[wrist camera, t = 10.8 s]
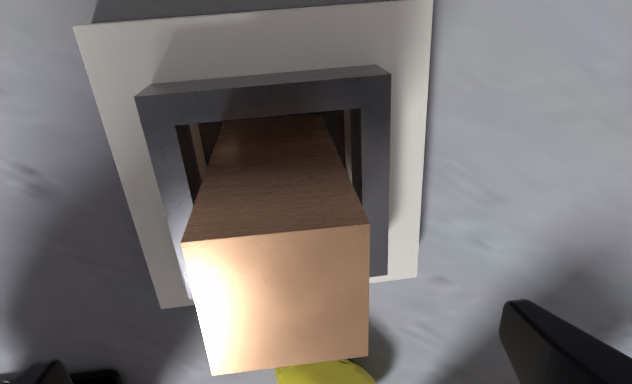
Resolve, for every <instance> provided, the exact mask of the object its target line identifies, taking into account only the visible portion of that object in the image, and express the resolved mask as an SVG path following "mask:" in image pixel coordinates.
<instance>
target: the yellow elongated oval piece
mask: <svg viewBox="0 0 632 384" xmlns="http://www.w3.org/2000/svg"><path fill="white" fill-rule="evenodd" d="M275 376H276V380H277V383H278V384H376V383H375V381H374V379H373V378H372V377H371V376H370V374H369V373H368V372H367V371H366V370H364V369H363V368H362V367H360V366H358V365H356V364H354V363H352V362H350V361H349V360H347V359H341V360H333V361H325V362H317V363H309V364H301V365H293V366H285V367H277V368H275Z"/></svg>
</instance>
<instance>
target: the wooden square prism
mask: <svg viewBox="0 0 632 384" xmlns="http://www.w3.org/2000/svg"><path fill="white" fill-rule="evenodd" d="M181 247H182V251H183V255H184V259H185V263H186V268H187V272H188V276H189V280H190V284H191V289H192V293H193V297H194V301H195V305H196V310H197V314H198V318H199V322H200V326H201V331H202V335H203V339H204V343H205V347H206V352H207V356H208V360H209V364H210V368H211V373H212V376H213V375H221V374H229V373H237V372H245V371H253V370H261V369H269V368H277V367H285V366H293V365H301V364H309V363H317V362H325V361H333V360H341V359H349V358H357V357H365V356H368V333H369V265H370V223H369V220H368V218H367V216H366V214H365V212H364V209H363V207H362V205H361V203H360V200H359V198H358V196H357V194H356V192H355V189H354V187H353V185H352V183H351V180H350V178H349V176H348V174H347V172H346V169H345V167H344V165H343V163H342V160H341V158H340V156H339V154H338V152H337V149H336V147H335V145H334V143H333V140H332V138H331V136H330V134H329V132H328V129H327V127H326V125H325V123H324V120H323V118H322V116H321V114H310V115H297V116H284V117H271V118H258V119H245V120H232V121H223V124H222V127H221V129H220V132H219V135H218V138H217V141H216V144H215V146H214V149H213V152H212V155H211V158H210V161H209V164H208V166H207V169H206V172H205V175H204V178H203V181H202V183H201V186H200V189H199V192H198V195H197V198H196V200H195V203H194V206H193V209H192V212H191V215H190V217H189V220H188V223H187V226H186V229H185V232H184V234H183V237H182V240H181Z"/></svg>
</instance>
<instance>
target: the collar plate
mask: <svg viewBox="0 0 632 384" xmlns="http://www.w3.org/2000/svg"><path fill="white" fill-rule="evenodd" d="M432 14H433V0H396V1H383V2H370V3H357V4H343V5H330V6H317V7H304V8H290V9H277V10H264V11H251V12H238V13H224V14H211V15H198V16H185V17H171V18H158V19H145V20H132V21H119V22H105V23H92V24H85V25H79V26H72V28H73V31H74V34H75V37H76V40H77V43H78V47H79V50H80V53H81V56H82V59H83V62H84V66H85V69H86V72H87V75H88V78H89V82H90V85H91V88H92V91H93V94H94V97H95V101H96V104H97V107H98V110H99V113H100V117H101V120H102V123H103V126H104V129H105V132H106V136H107V139H108V142H109V145H110V148H111V152H112V155H113V158H114V161H115V164H116V167H117V171H118V174H119V177H120V180H121V183H122V186H123V190H124V193H125V196H126V199H127V202H128V206H129V209H130V212H131V215H132V218H133V221H134V225H135V228H136V231H137V234H138V237H139V241H140V244H141V247H142V250H143V253H144V256H145V260H146V263H147V266H148V269H149V272H150V276H151V279H152V282H153V285H154V288H155V291H156V295H157V298H158V301H159V304H160V307H161V309H167V308H175V307H183V306H191V305H195V301H194V297H193V293H192V289H191V284H190V280H189V276H188V272H187V268H186V263H185V259H184V255H183V251H182V247H181V240H182V237H183V234H184V232H185V229H186V226H187V223H188V220H189V217H190V215H191V212H192V209H193V206H194V203H195V200H196V198H197V195H198V192H199V189H200V186H201V183H202V181H203V178H204V175H205V172H206V169H207V166H206V161H205V156H204V151H203V146H202V142H201V137H200V132H199V127H198V123H206V122H217V121H227V120H238V119H248V118H259V117H270V116H280V115H291V114H302V113H312V112H323V111H334V110H344V134H345V163H346V172H347V174H348V176H349V178H350V180H351V183H352V185H353V187H354V189H355V192H356V194H357V196H358V198H359V200H360V203H361V205H362V207H363V209H364V212H365V214H366V216H367V218H368V220H369V223H370V265H369V283H375V282H383V281H391V280H399V279H407V278H415V277H417V264H418V247H419V231H420V214H421V197H422V181H423V164H424V147H425V131H426V114H427V97H428V81H429V64H430V47H431V31H432Z"/></svg>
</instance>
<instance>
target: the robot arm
mask: <svg viewBox="0 0 632 384" xmlns="http://www.w3.org/2000/svg"><path fill="white" fill-rule="evenodd" d="M499 335H500V339H501V342H502V344H503V346H504V349H505V351H506V353H507V355H508V357H509V360H510V362H511V364H512V366H513V369H514V371H515V373H516V375H517V377H518V380H519V382H520V384H632V358H630V357H628V356H627V355H625V354H623V353H621V352H620V351H618V350H616V349H614V348H613V347H611V346H609V345H607V344H605V343H604V342H602V341H600V340H598V339H597V338H595V337H593V336H591V335H589V334H588V333H586V332H584V331H582V330H581V329H579V328H577V327H575V326H573V325H572V324H570V323H568V322H566V321H565V320H563V319H561V318H559V317H557V316H556V315H554V314H552V313H550V312H549V311H547V310H545V309H543V308H541V307H540V306H538V305H536V304H534V303H533V302H531V301H529V300H526V299H519V300H511V301H507V302H506V303H505V304H504V307H503V312H502V317H501V322H500V327H499ZM6 384H123V383H122V381H121V378H120V376H119V374H118V373H117V372H115V371H113V370H104V371H96V372H89V373H81V374H74V375H68V373H67V371H66V369H65V367H64V365H63V363H62V362H61V361H60V360H56V359H55V360H47V361H39V362H36V363H34V364H33V365H31V366H30V367H29V368H27V369H26V370H25V371H24V372H23V373H21V374H20V375H19V376H18V377H16V378H15V379H14V380H13V381H11V382H10V383H6Z"/></svg>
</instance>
